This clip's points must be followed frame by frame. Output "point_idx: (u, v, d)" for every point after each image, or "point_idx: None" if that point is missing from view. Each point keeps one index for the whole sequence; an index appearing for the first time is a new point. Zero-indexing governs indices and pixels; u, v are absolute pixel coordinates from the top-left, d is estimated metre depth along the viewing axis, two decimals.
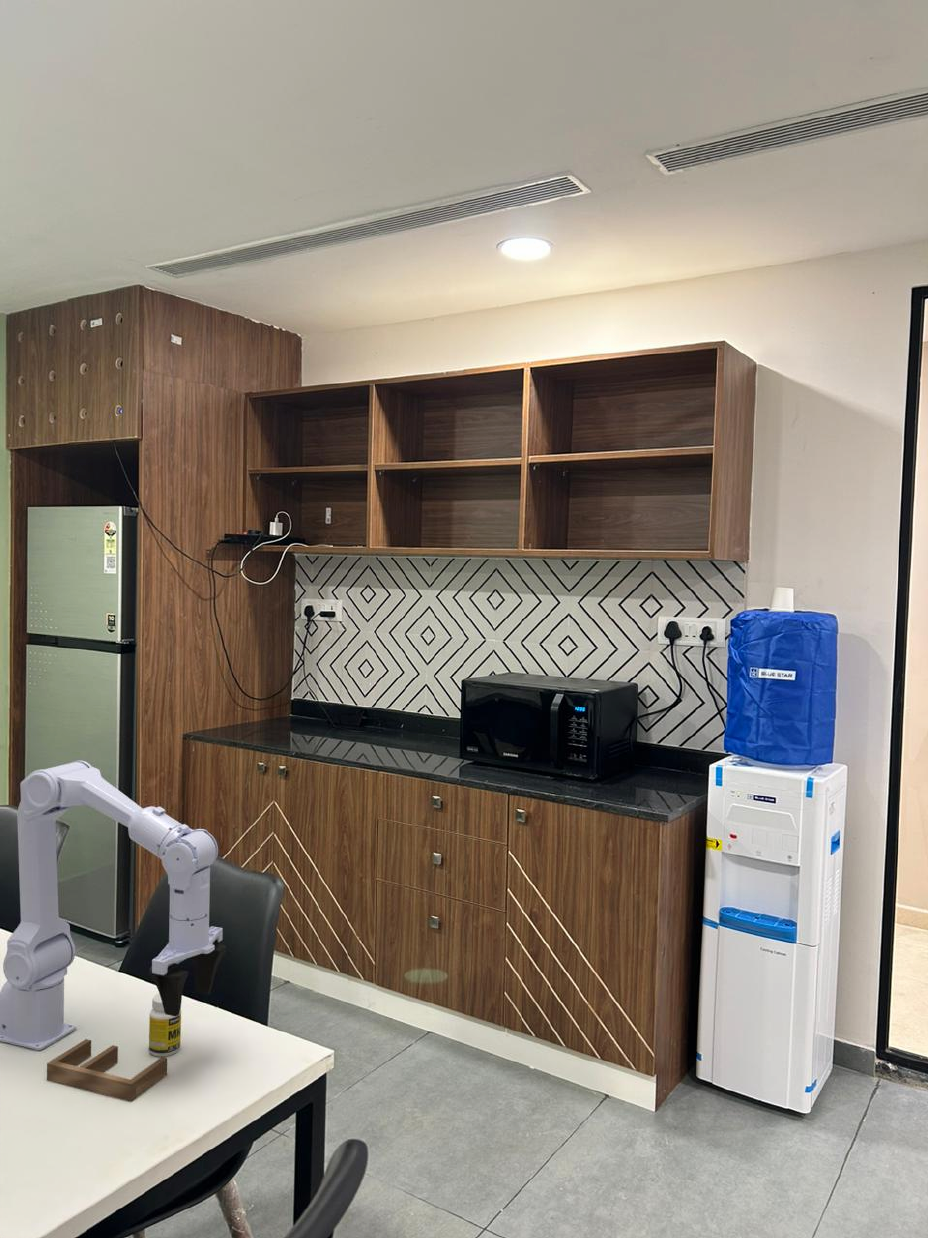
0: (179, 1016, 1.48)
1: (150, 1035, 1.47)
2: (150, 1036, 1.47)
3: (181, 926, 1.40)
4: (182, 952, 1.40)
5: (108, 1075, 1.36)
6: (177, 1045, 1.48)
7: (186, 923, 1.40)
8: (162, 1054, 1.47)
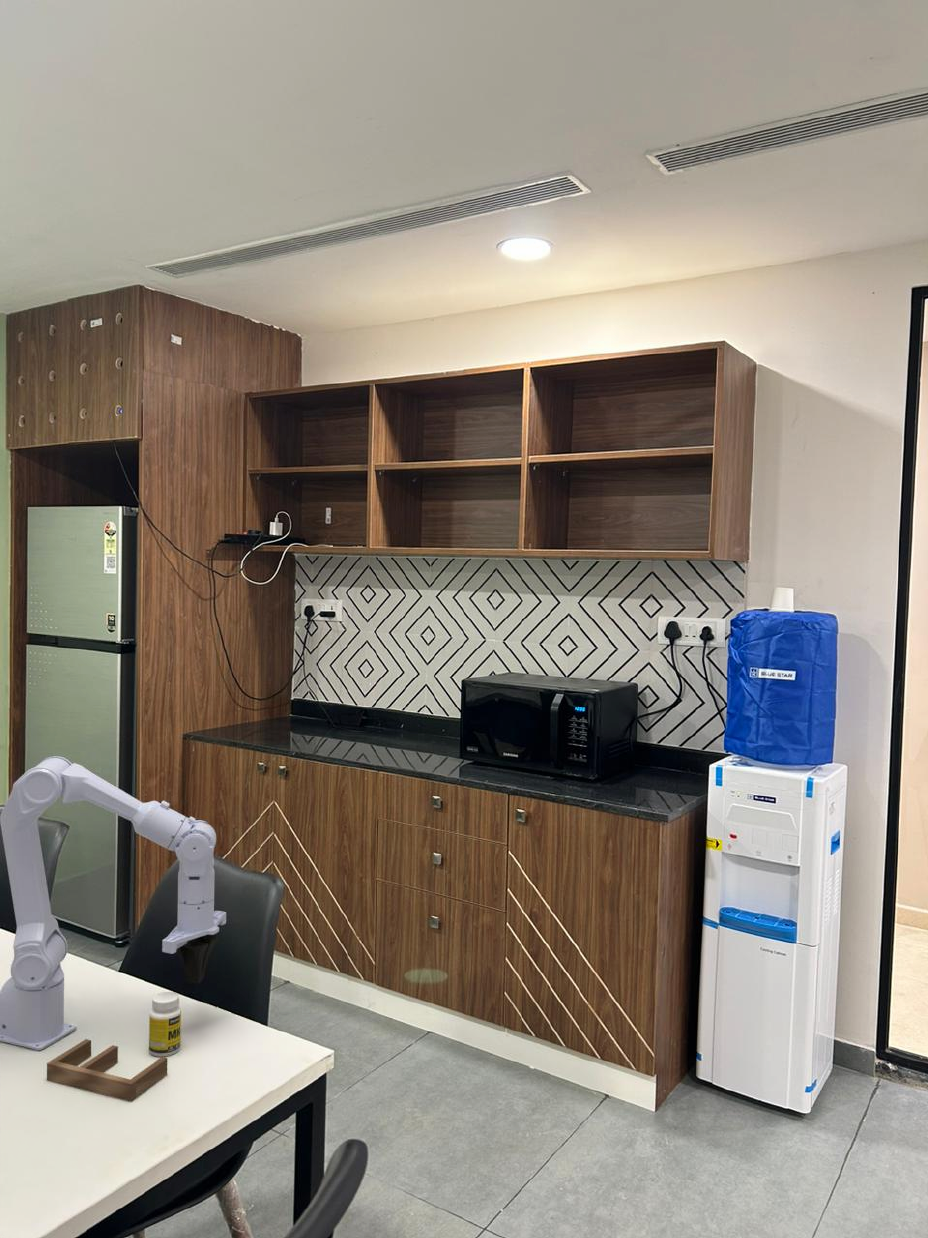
0: (179, 1016, 1.48)
1: (150, 1035, 1.47)
2: (150, 1036, 1.47)
3: (188, 909, 1.52)
4: (189, 933, 1.52)
5: (108, 1075, 1.36)
6: (177, 1045, 1.48)
7: (193, 907, 1.52)
8: (162, 1054, 1.47)
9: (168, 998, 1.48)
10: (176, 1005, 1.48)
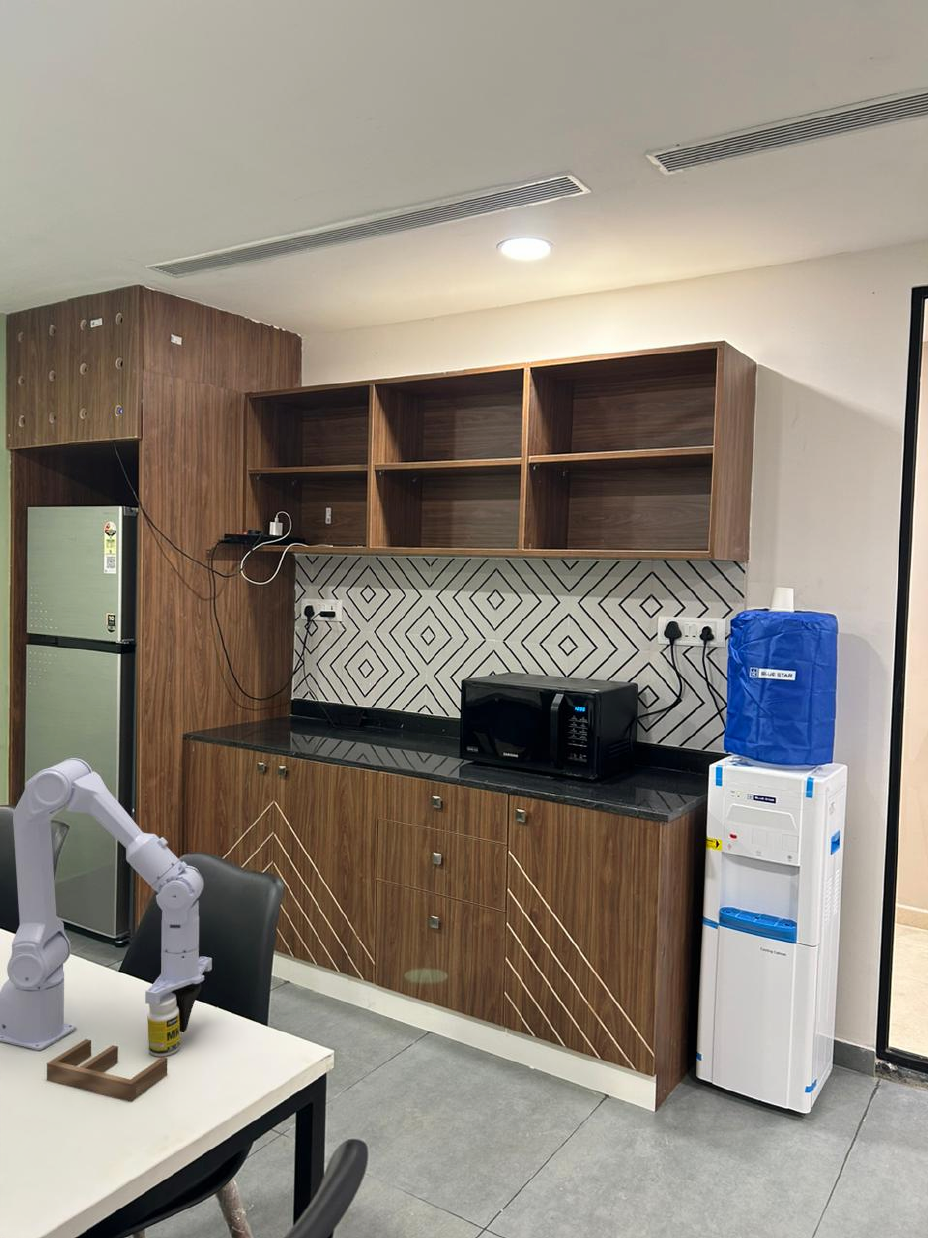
0: (177, 1016, 1.48)
1: (149, 1036, 1.47)
2: (149, 1037, 1.47)
3: (172, 958, 1.49)
4: (173, 983, 1.49)
5: (108, 1075, 1.36)
6: (177, 1044, 1.48)
7: (177, 955, 1.49)
8: (162, 1054, 1.46)
9: (165, 1000, 1.47)
10: (173, 1006, 1.47)
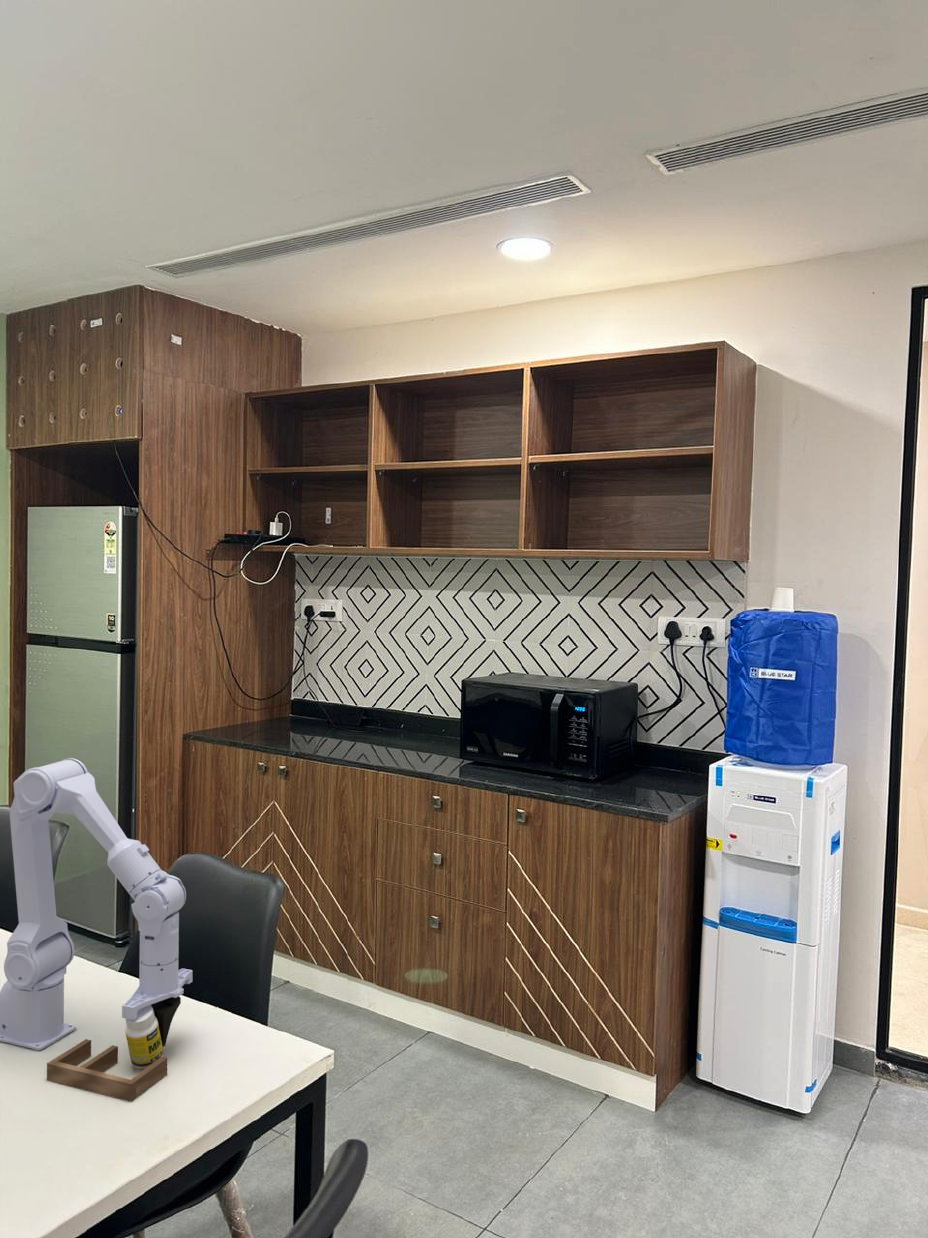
0: (156, 1028, 1.43)
1: (130, 1050, 1.42)
2: (130, 1051, 1.42)
3: (150, 971, 1.44)
4: (152, 996, 1.44)
5: (108, 1075, 1.36)
6: (160, 1054, 1.44)
7: (155, 968, 1.44)
8: (145, 1067, 1.42)
9: (142, 1015, 1.42)
10: (151, 1020, 1.42)
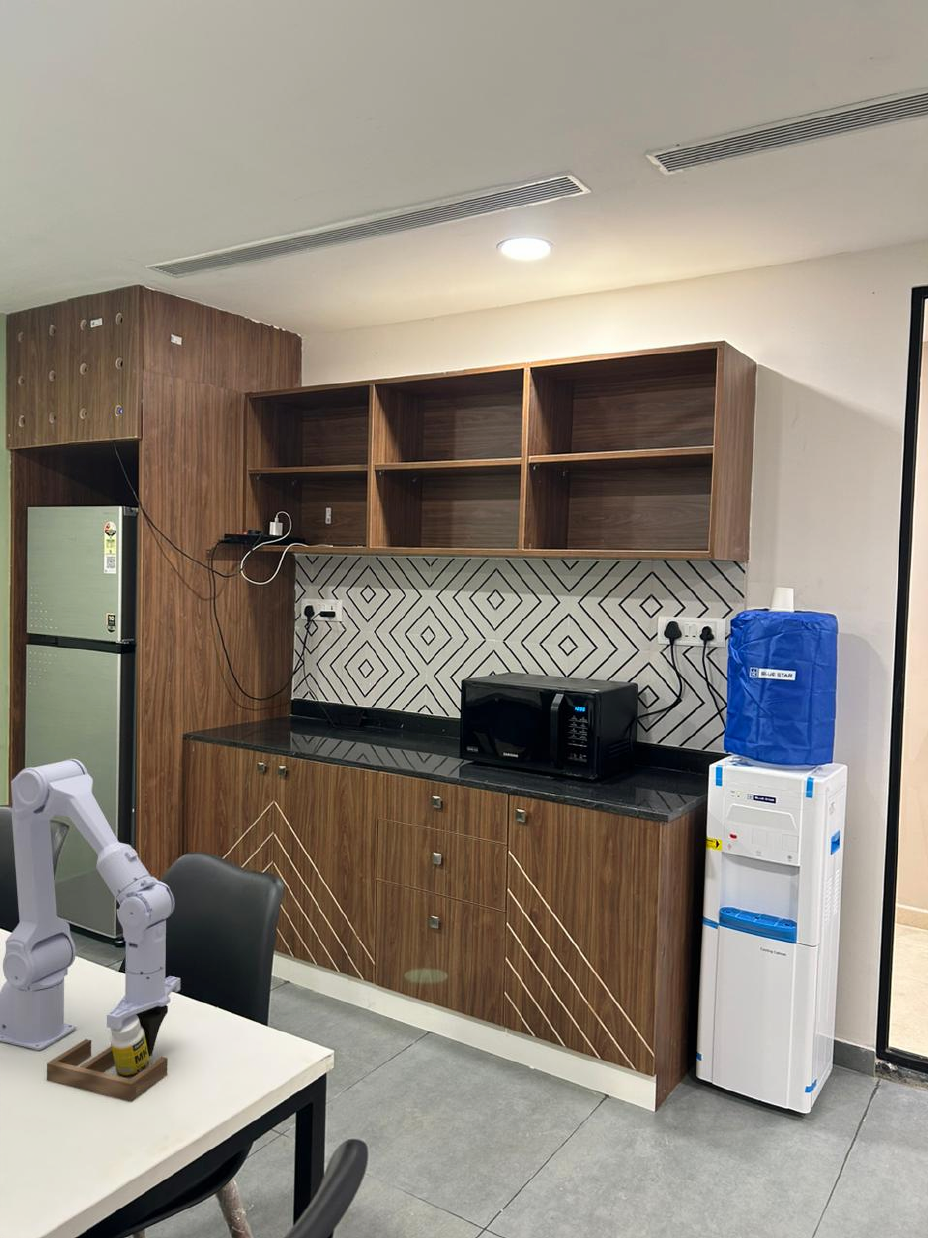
0: (143, 1038, 1.40)
1: (115, 1061, 1.39)
2: (115, 1062, 1.39)
3: (136, 979, 1.41)
4: (138, 1005, 1.41)
5: (108, 1075, 1.36)
6: (146, 1064, 1.41)
7: (141, 976, 1.41)
8: (132, 1077, 1.39)
9: (128, 1024, 1.39)
10: (138, 1029, 1.39)
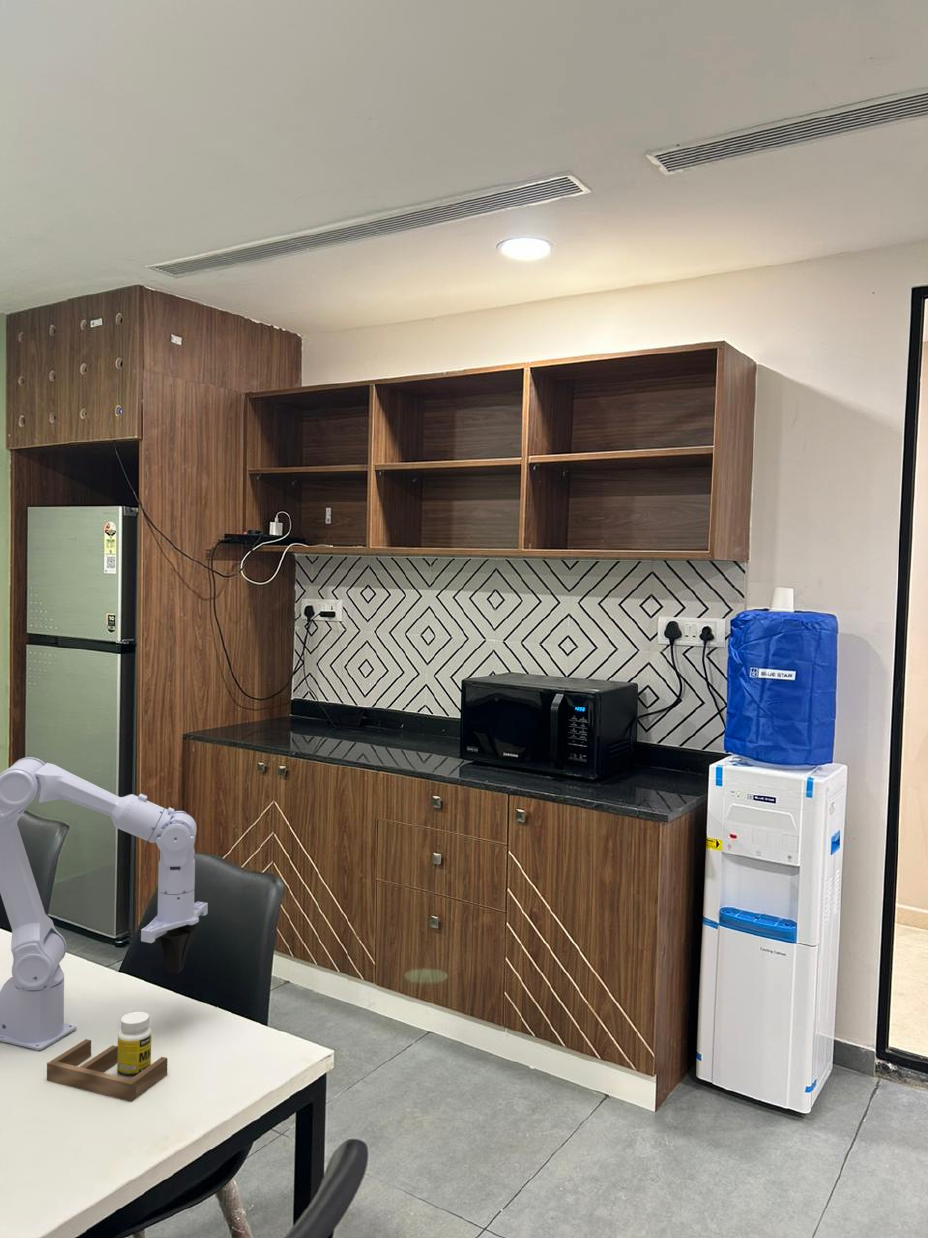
0: (150, 1036, 1.42)
1: (119, 1058, 1.40)
2: (119, 1059, 1.40)
3: (168, 899, 1.53)
4: (169, 923, 1.53)
5: (108, 1075, 1.36)
6: None
7: (173, 897, 1.53)
8: None
9: (138, 1019, 1.41)
10: (147, 1025, 1.41)
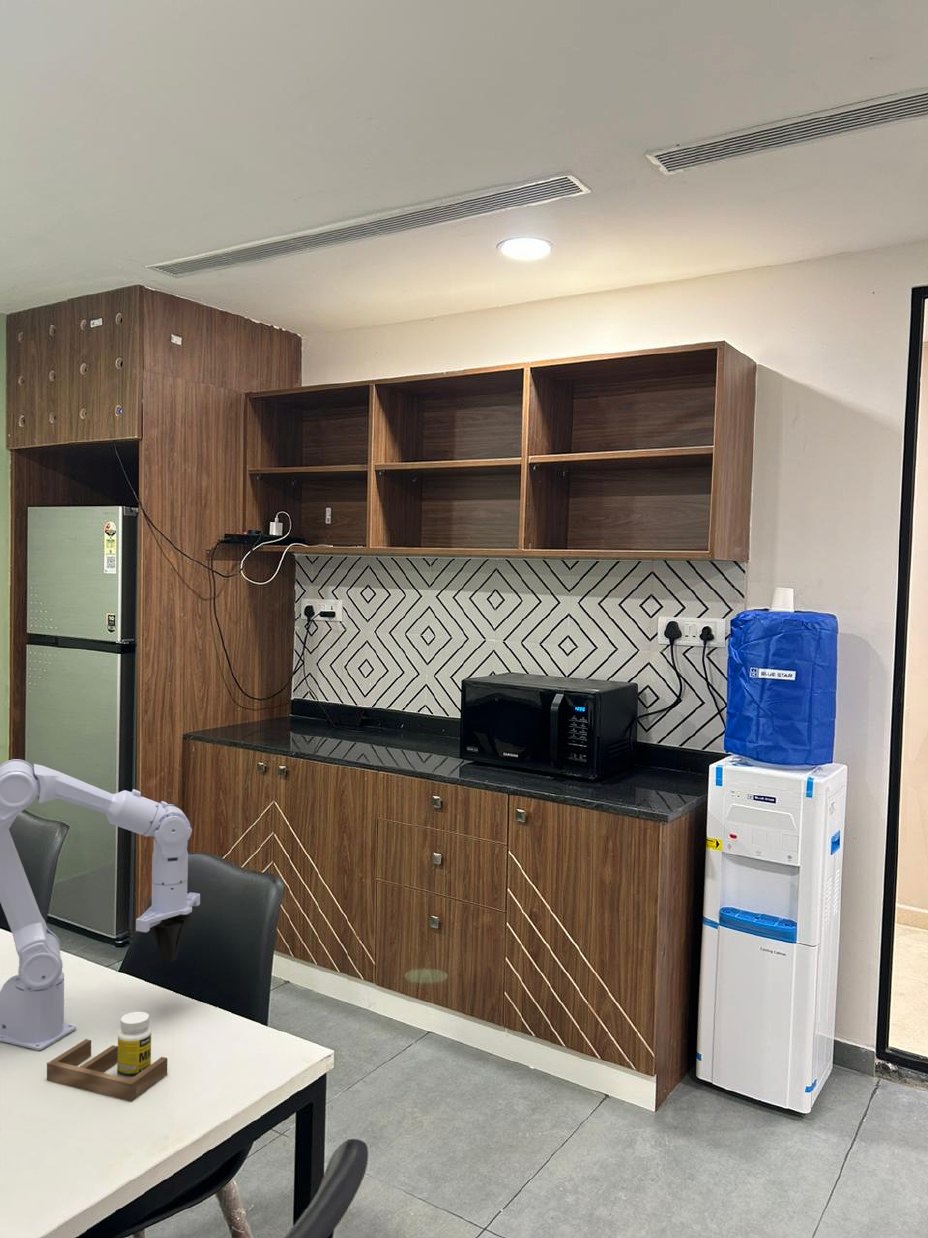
0: (150, 1036, 1.42)
1: (119, 1058, 1.40)
2: (119, 1059, 1.40)
3: (162, 890, 1.57)
4: (163, 913, 1.57)
5: (108, 1075, 1.36)
6: None
7: (166, 887, 1.57)
8: None
9: (138, 1018, 1.41)
10: (147, 1025, 1.41)
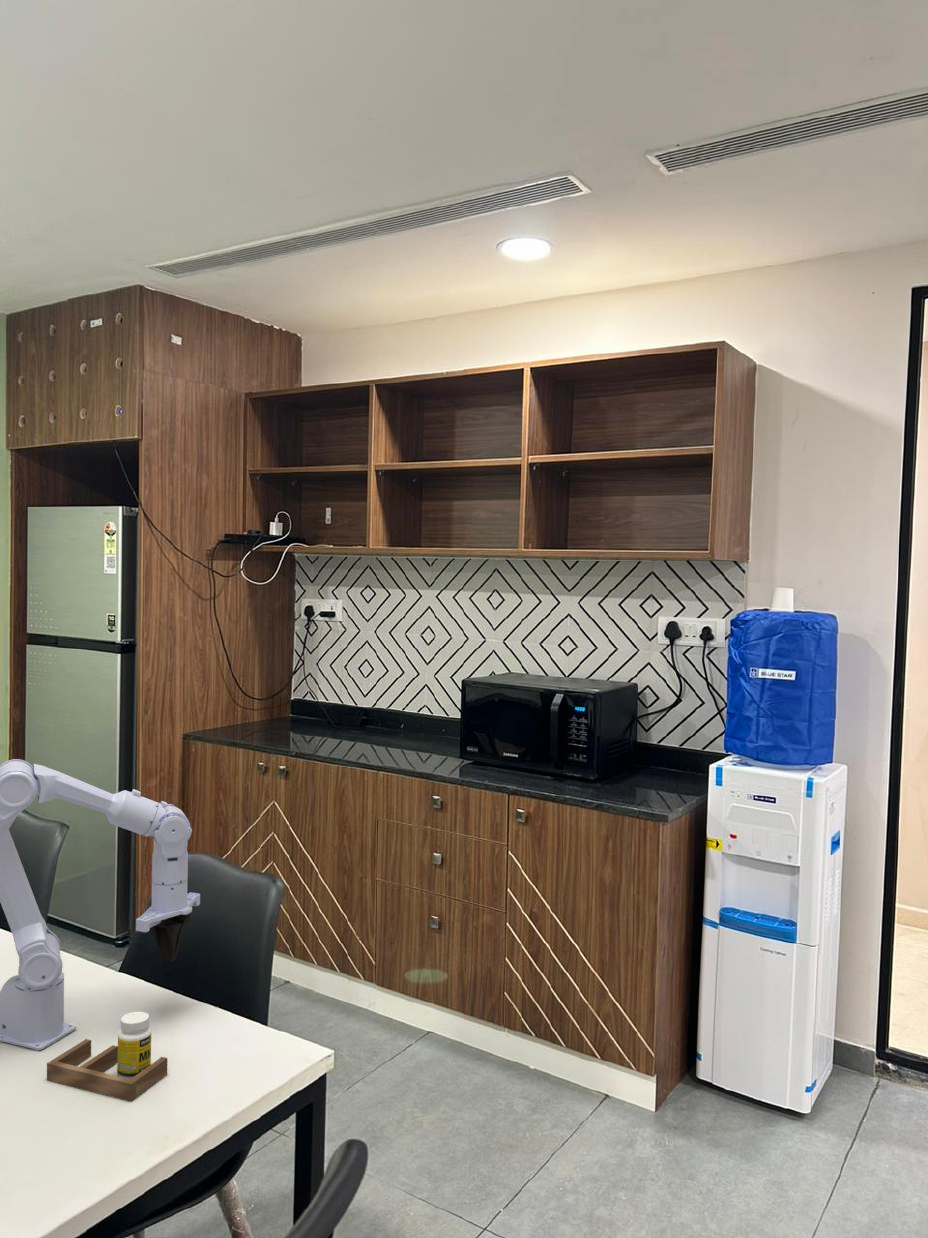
0: (150, 1036, 1.42)
1: (119, 1058, 1.40)
2: (119, 1059, 1.40)
3: (162, 890, 1.57)
4: (163, 913, 1.57)
5: (108, 1075, 1.36)
6: None
7: (166, 887, 1.57)
8: None
9: (138, 1018, 1.41)
10: (147, 1025, 1.41)
